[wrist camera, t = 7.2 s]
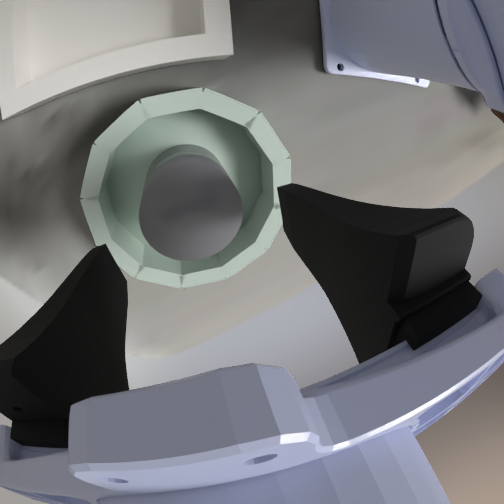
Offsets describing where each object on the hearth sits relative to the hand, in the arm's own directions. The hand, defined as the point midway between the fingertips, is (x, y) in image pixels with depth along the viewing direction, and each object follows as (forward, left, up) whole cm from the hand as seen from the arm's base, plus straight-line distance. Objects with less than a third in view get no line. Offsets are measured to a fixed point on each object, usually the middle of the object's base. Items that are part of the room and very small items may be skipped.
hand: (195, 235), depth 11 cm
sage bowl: (0, 0, -7) cm, 7 cm away
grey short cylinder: (0, 0, -6) cm, 6 cm away
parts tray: (+3, -13, -7) cm, 15 cm away
